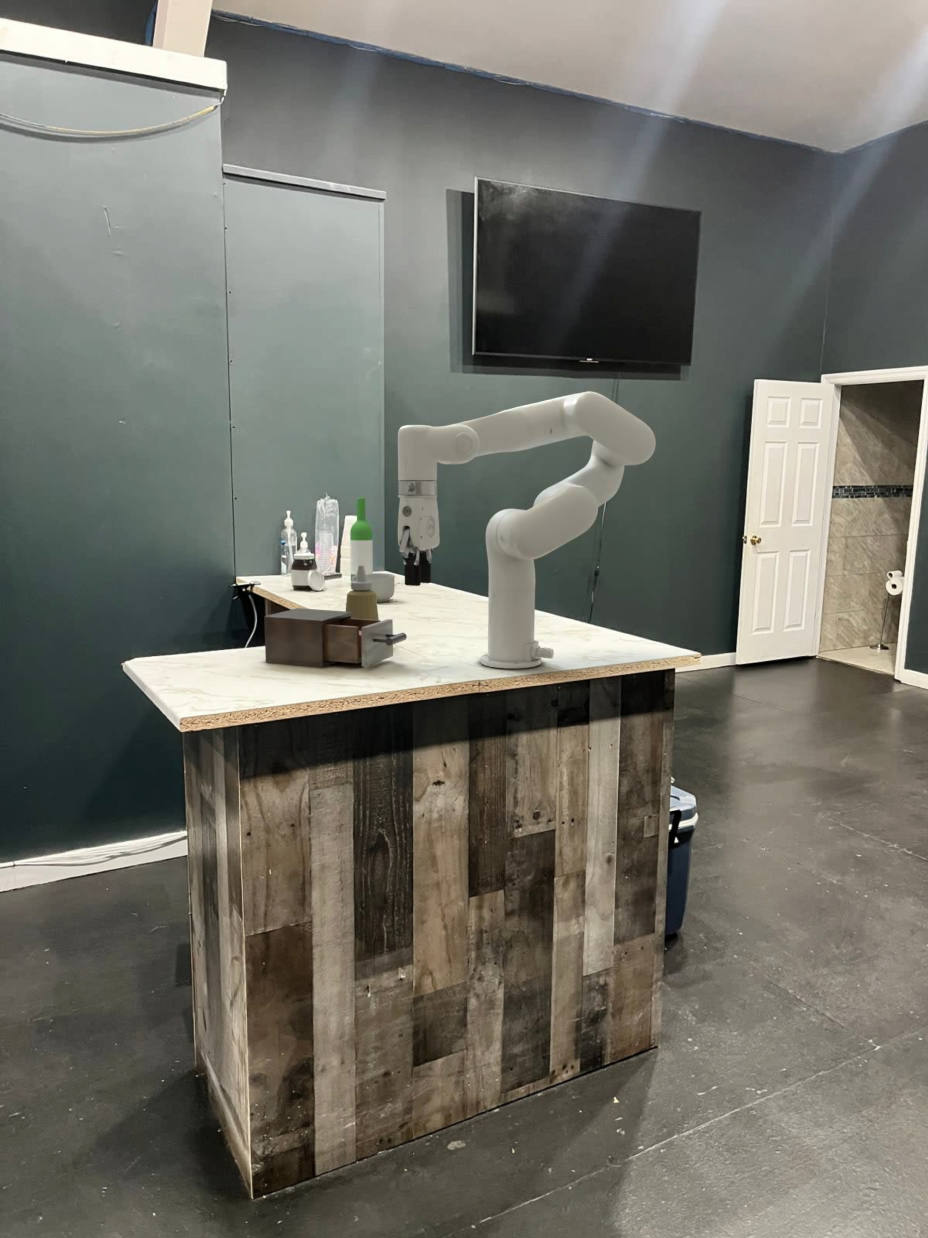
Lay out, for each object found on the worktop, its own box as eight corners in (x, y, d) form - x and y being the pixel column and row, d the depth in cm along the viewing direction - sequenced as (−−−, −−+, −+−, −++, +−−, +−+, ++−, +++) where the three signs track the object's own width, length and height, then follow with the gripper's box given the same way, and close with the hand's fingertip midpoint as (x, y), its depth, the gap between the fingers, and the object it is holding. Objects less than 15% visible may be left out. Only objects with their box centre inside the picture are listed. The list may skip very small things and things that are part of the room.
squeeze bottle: (373, 648, 205) (373, 568, 202) (339, 647, 207) (338, 567, 204) (384, 642, 213) (383, 564, 210) (350, 640, 214) (349, 563, 212)
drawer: (412, 658, 190) (411, 620, 189) (387, 668, 180) (386, 629, 179) (340, 651, 197) (340, 615, 196) (312, 661, 186) (311, 623, 185)
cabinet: (353, 656, 196) (352, 611, 195) (322, 667, 185) (321, 620, 183) (298, 651, 201) (297, 608, 200) (265, 662, 190) (264, 616, 188)
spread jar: (298, 587, 314) (297, 552, 313) (330, 587, 313) (329, 553, 311) (286, 591, 303) (286, 556, 301) (320, 592, 301) (319, 556, 299)
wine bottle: (348, 584, 322) (346, 498, 317) (354, 582, 329) (353, 497, 325) (369, 585, 320) (368, 498, 316) (375, 582, 328) (374, 497, 323)
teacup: (402, 600, 283) (401, 574, 282) (380, 604, 274) (380, 577, 273) (366, 596, 290) (366, 571, 289) (344, 600, 281) (343, 574, 280)
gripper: (416, 491, 169) (417, 590, 172) (452, 489, 185) (452, 580, 187) (380, 490, 172) (381, 588, 175) (418, 489, 187) (418, 578, 190)
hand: (417, 583), depth 181 cm, fingers open, 4 cm apart
